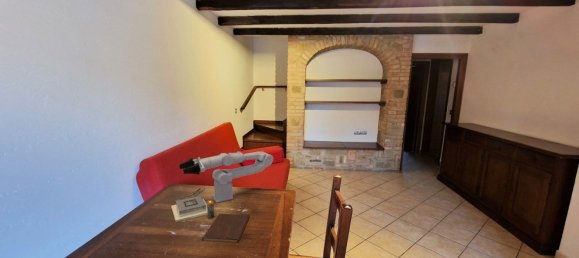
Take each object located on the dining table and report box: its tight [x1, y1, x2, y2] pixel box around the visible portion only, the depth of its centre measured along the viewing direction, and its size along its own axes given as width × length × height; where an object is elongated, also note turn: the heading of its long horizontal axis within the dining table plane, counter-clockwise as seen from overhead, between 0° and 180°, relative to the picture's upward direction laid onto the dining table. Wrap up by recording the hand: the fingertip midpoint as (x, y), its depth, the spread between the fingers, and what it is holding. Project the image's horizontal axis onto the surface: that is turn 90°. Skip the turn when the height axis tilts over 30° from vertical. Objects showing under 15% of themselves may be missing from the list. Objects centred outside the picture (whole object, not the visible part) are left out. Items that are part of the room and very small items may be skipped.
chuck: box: [175, 195, 206, 217], centre depth 125 cm, size 12×12×3 cm
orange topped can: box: [206, 199, 215, 219], centre depth 120 cm, size 3×3×8 cm
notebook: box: [201, 213, 250, 243], centre depth 111 cm, size 15×20×2 cm
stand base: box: [171, 198, 208, 223], centre depth 126 cm, size 16×16×1 cm
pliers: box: [176, 187, 206, 201], centre depth 143 cm, size 10×1×20 cm
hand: (181, 169), depth 125 cm, fingers open, 7 cm apart
